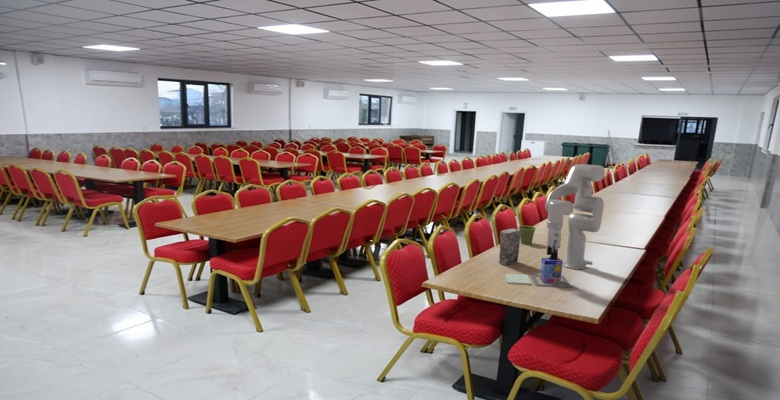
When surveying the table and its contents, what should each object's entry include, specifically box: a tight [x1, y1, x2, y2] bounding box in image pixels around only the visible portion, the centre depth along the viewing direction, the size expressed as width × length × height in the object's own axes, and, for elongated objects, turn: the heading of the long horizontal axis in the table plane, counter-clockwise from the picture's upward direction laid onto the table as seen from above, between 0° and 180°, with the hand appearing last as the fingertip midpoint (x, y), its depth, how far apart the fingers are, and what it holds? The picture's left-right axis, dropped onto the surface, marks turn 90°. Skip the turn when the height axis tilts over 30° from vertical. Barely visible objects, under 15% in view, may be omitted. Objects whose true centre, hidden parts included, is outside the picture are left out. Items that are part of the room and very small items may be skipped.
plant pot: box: [518, 225, 537, 245], centre depth 330 cm, size 12×12×11 cm
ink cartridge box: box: [539, 255, 564, 284], centre depth 251 cm, size 10×6×14 cm, turn 95°
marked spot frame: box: [529, 273, 573, 289], centre depth 253 cm, size 18×18×1 cm
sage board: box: [504, 273, 533, 286], centre depth 253 cm, size 12×14×1 cm
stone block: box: [498, 228, 521, 266], centre depth 282 cm, size 13×7×20 cm, turn 135°
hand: (551, 257), depth 250 cm, fingers open, 9 cm apart
